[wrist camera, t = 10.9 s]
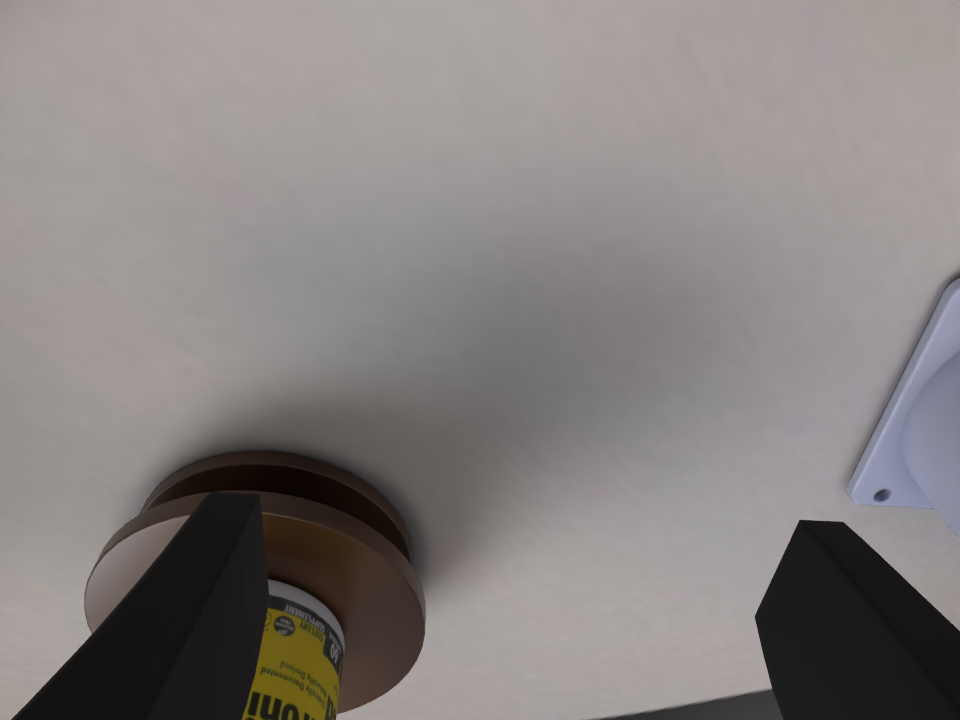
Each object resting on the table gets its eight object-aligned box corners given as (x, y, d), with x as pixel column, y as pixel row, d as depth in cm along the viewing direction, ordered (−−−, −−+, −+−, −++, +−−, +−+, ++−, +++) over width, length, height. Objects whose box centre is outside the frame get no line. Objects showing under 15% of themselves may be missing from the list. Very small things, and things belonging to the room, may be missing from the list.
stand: (436, 446, 23) (434, 519, 20) (420, 649, 28) (417, 726, 26) (94, 428, 22) (48, 501, 19) (146, 640, 27) (116, 718, 25)
